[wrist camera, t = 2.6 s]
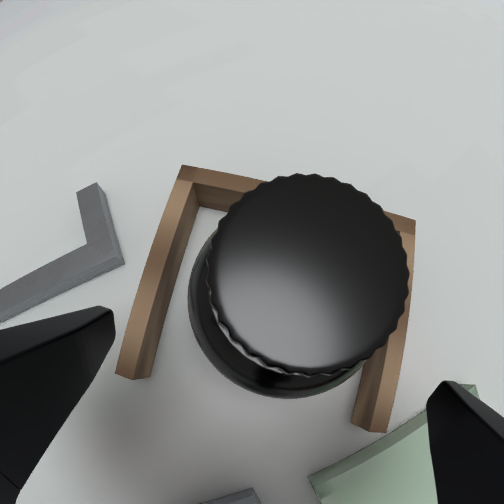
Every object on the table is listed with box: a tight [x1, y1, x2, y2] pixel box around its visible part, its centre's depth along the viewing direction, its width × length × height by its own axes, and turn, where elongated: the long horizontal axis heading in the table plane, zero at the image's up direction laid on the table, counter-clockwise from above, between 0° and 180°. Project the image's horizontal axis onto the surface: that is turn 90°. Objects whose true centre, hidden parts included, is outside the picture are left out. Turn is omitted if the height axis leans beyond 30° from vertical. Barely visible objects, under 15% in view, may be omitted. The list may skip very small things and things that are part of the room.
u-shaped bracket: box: [115, 165, 416, 433], centre depth 17 cm, size 12×14×3 cm
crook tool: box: [0, 182, 125, 323], centre depth 18 cm, size 12×6×2 cm, turn 115°
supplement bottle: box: [188, 173, 410, 399], centre depth 13 cm, size 7×7×12 cm
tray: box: [308, 384, 480, 504], centre depth 14 cm, size 12×12×2 cm
